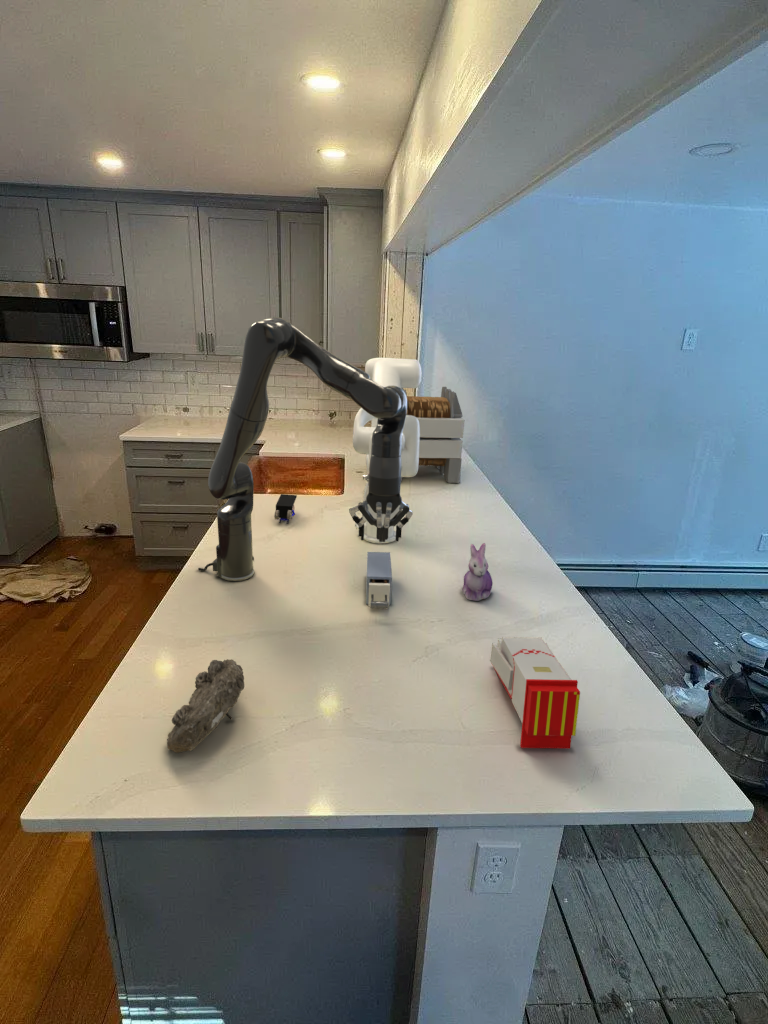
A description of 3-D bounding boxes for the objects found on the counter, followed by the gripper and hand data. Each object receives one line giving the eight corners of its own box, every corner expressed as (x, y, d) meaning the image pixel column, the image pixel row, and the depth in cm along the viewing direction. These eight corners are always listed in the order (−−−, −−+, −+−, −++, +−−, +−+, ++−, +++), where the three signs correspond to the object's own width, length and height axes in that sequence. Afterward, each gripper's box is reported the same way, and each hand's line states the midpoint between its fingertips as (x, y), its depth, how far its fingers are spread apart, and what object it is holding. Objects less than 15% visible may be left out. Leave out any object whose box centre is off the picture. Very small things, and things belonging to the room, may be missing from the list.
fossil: (192, 660, 117) (244, 628, 112) (224, 691, 120) (276, 661, 115) (142, 746, 98) (202, 712, 93) (182, 779, 101) (242, 748, 96)
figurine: (473, 605, 153) (479, 554, 148) (452, 588, 162) (457, 540, 157) (501, 598, 157) (507, 549, 152) (479, 583, 166) (484, 535, 161)
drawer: (389, 618, 143) (390, 596, 141) (368, 618, 143) (369, 595, 141) (387, 581, 163) (388, 561, 160) (368, 581, 163) (369, 560, 160)
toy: (539, 620, 128) (589, 687, 99) (533, 674, 131) (581, 755, 102) (485, 619, 128) (521, 686, 99) (481, 673, 131) (514, 755, 101)
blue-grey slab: (390, 604, 152) (392, 577, 149) (366, 604, 152) (367, 576, 149) (388, 578, 167) (390, 552, 164) (366, 577, 167) (367, 551, 164)
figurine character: (292, 529, 203) (297, 511, 216) (292, 510, 199) (297, 492, 213) (273, 529, 202) (280, 510, 216) (272, 510, 199) (279, 492, 213)
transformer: (382, 463, 289) (386, 382, 275) (445, 464, 293) (451, 384, 279) (390, 482, 257) (394, 392, 243) (460, 483, 261) (468, 394, 247)
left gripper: (356, 476, 130) (354, 546, 135) (414, 478, 130) (409, 547, 136) (357, 467, 137) (355, 534, 142) (412, 469, 137) (408, 535, 143)
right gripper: (349, 482, 148) (348, 543, 153) (415, 484, 148) (411, 545, 154) (350, 474, 155) (349, 533, 160) (413, 477, 155) (410, 535, 161)
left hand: (382, 540), depth 139 cm, fingers closed
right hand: (379, 539), depth 157 cm, fingers open, 9 cm apart
